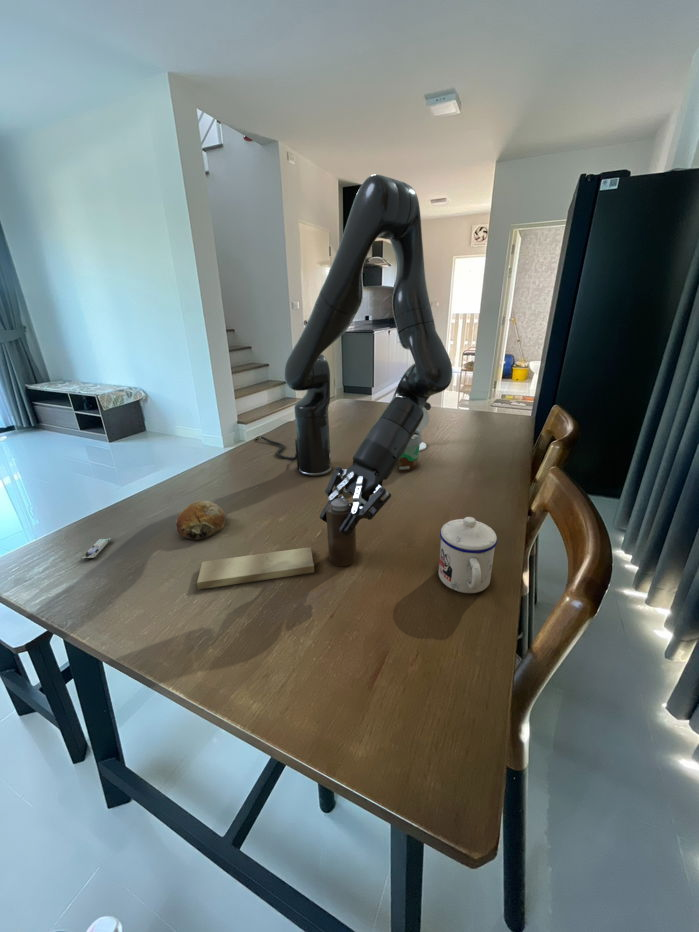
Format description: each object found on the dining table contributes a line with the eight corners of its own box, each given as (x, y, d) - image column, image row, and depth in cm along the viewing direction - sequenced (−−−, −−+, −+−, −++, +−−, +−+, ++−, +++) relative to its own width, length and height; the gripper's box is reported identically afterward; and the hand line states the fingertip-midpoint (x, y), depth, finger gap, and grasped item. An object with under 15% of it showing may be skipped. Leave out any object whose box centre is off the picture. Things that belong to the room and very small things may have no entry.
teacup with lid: (433, 560, 71) (437, 505, 66) (483, 561, 70) (490, 506, 66) (444, 607, 60) (449, 545, 55) (503, 609, 59) (513, 546, 55)
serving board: (198, 589, 65) (196, 582, 65) (203, 568, 71) (202, 561, 70) (314, 572, 69) (313, 565, 68) (311, 553, 74) (310, 546, 74)
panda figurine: (421, 439, 136) (423, 397, 130) (433, 449, 126) (435, 405, 120) (388, 442, 134) (389, 399, 128) (398, 452, 124) (399, 407, 118)
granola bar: (100, 541, 80) (99, 536, 80) (112, 540, 80) (110, 536, 80) (82, 560, 74) (80, 556, 74) (94, 559, 74) (92, 555, 74)
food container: (420, 474, 107) (422, 441, 103) (398, 473, 108) (399, 440, 105) (421, 459, 118) (423, 428, 115) (401, 458, 120) (402, 427, 116)
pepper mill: (323, 559, 72) (319, 503, 68) (342, 547, 76) (339, 493, 71) (343, 570, 69) (340, 512, 65) (362, 557, 73) (360, 501, 68)
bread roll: (232, 538, 87) (237, 502, 87) (202, 544, 77) (207, 504, 77) (197, 531, 90) (201, 497, 90) (163, 536, 80) (168, 498, 80)
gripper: (346, 429, 74) (298, 504, 71) (400, 448, 63) (345, 536, 61) (367, 449, 79) (323, 519, 76) (420, 469, 68) (370, 551, 66)
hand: (333, 526), depth 69 cm, fingers closed on pepper mill, 5 cm apart
